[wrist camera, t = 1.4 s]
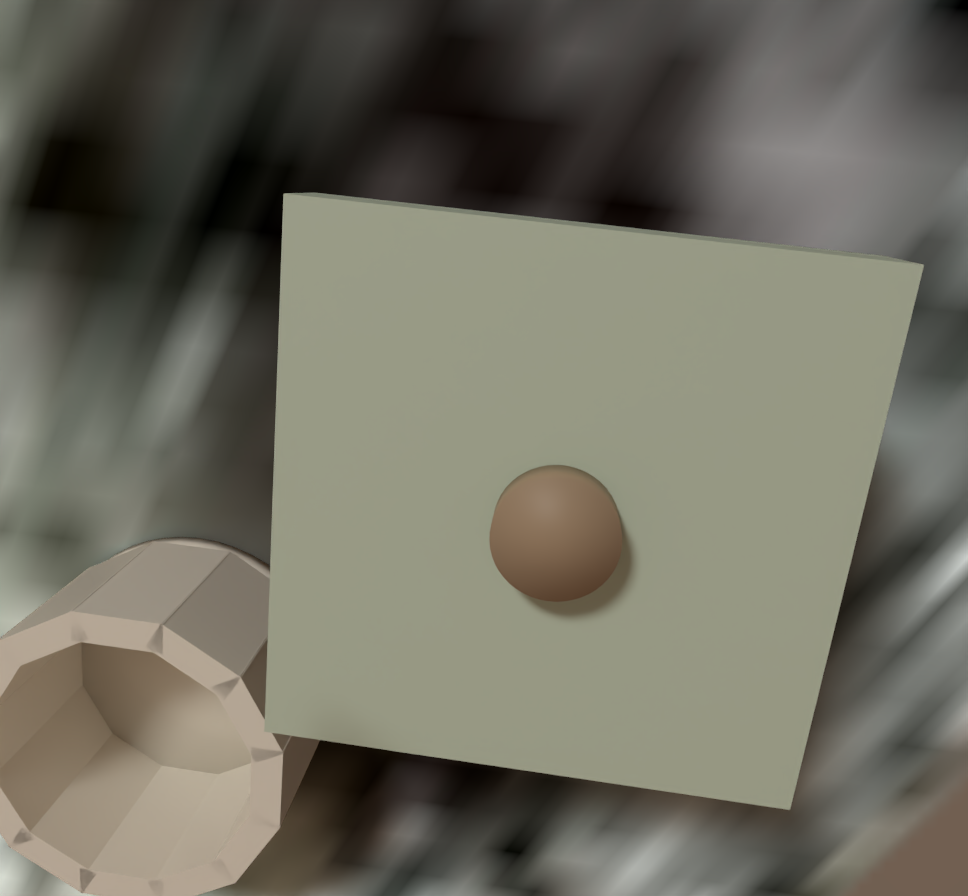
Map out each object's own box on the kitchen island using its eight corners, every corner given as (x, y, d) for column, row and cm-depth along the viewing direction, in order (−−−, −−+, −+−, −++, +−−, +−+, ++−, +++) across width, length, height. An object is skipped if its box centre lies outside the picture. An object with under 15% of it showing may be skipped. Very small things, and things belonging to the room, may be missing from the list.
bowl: (61, 518, 26) (-52, 593, 21) (340, 557, 26) (288, 641, 21) (71, 760, 29) (-29, 875, 24) (326, 799, 28) (276, 924, 23)
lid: (315, 192, 17) (268, 193, 15) (883, 255, 17) (942, 268, 14) (292, 680, 21) (251, 755, 18) (768, 750, 20) (799, 837, 17)
